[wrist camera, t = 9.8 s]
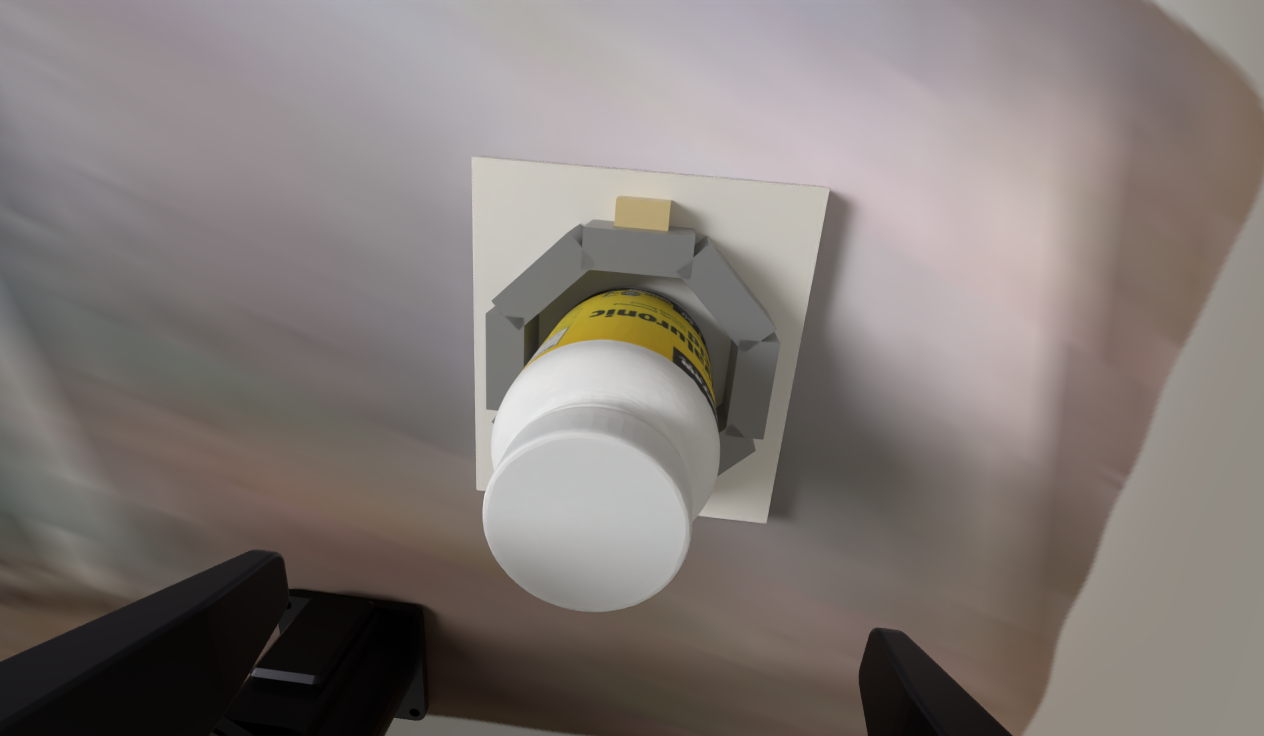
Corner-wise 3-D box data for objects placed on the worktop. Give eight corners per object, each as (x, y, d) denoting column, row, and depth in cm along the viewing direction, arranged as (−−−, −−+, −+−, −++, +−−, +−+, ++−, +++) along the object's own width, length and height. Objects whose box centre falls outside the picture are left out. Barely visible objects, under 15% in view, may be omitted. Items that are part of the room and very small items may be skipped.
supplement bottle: (743, 347, 20) (795, 518, 10) (644, 458, 21) (615, 688, 12) (613, 247, 19) (545, 337, 10) (521, 371, 21) (391, 546, 11)
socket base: (762, 508, 23) (773, 558, 20) (484, 476, 23) (457, 520, 21) (822, 186, 19) (846, 192, 16) (482, 156, 19) (447, 157, 16)
